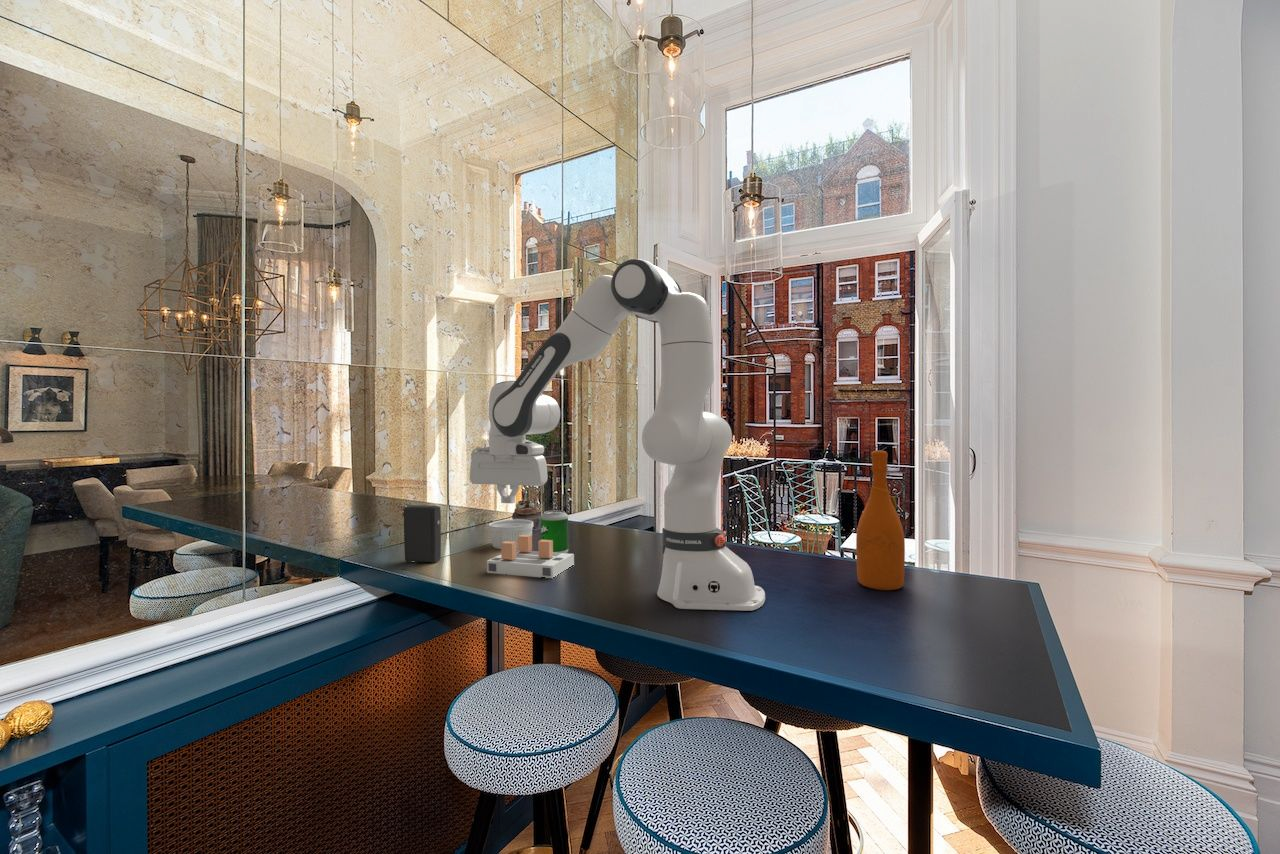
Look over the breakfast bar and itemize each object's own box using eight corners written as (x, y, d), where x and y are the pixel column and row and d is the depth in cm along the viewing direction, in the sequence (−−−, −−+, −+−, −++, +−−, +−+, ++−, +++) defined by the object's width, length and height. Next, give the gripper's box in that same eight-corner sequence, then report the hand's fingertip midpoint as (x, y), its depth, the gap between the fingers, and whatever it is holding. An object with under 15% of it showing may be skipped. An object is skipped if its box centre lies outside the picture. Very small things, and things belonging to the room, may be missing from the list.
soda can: (571, 551, 155) (570, 509, 155) (564, 558, 147) (564, 514, 147) (545, 551, 156) (544, 509, 155) (537, 558, 148) (537, 514, 148)
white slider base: (574, 565, 140) (574, 553, 140) (552, 578, 128) (552, 565, 128) (512, 560, 145) (512, 549, 145) (486, 573, 134) (486, 560, 134)
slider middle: (553, 556, 136) (552, 540, 136) (549, 558, 134) (549, 541, 134) (542, 555, 137) (542, 539, 137) (538, 557, 135) (538, 541, 135)
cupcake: (544, 530, 186) (544, 501, 186) (517, 533, 181) (517, 503, 181) (534, 525, 195) (534, 498, 194) (508, 529, 189) (507, 500, 189)
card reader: (443, 560, 147) (442, 504, 147) (435, 564, 143) (434, 507, 143) (411, 559, 148) (411, 504, 148) (403, 563, 144) (402, 506, 144)
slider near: (516, 557, 135) (516, 541, 135) (512, 559, 133) (511, 543, 133) (505, 557, 136) (505, 541, 136) (501, 559, 134) (501, 542, 134)
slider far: (532, 550, 142) (531, 535, 142) (528, 552, 140) (528, 536, 140) (522, 549, 143) (521, 534, 143) (518, 551, 141) (517, 536, 141)
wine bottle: (908, 593, 114) (907, 451, 114) (857, 589, 117) (856, 451, 117) (901, 580, 123) (900, 449, 123) (855, 577, 127) (854, 449, 126)
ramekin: (490, 542, 169) (490, 519, 169) (534, 540, 171) (533, 518, 171) (486, 552, 156) (486, 528, 156) (533, 549, 158) (533, 525, 158)
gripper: (463, 447, 134) (464, 503, 134) (537, 448, 128) (538, 506, 128) (478, 446, 140) (479, 499, 140) (550, 446, 134) (550, 502, 134)
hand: (508, 503), depth 134 cm, fingers closed
